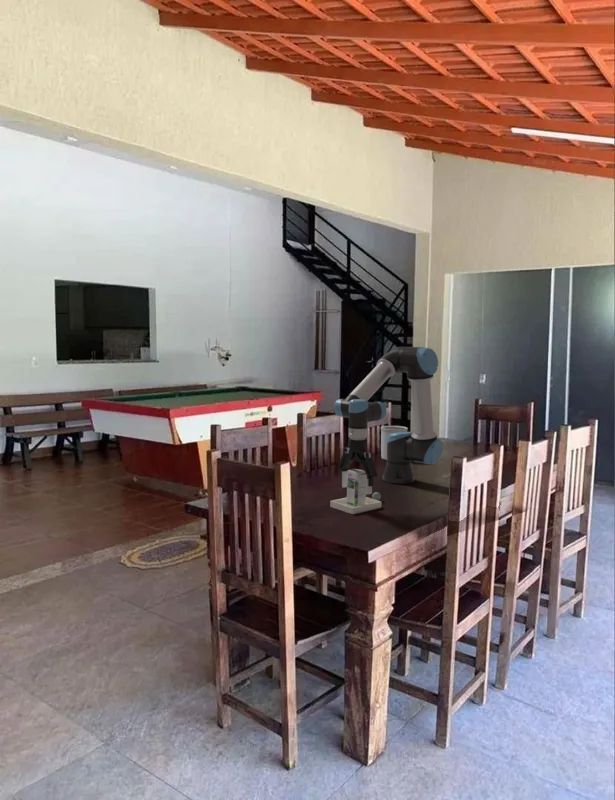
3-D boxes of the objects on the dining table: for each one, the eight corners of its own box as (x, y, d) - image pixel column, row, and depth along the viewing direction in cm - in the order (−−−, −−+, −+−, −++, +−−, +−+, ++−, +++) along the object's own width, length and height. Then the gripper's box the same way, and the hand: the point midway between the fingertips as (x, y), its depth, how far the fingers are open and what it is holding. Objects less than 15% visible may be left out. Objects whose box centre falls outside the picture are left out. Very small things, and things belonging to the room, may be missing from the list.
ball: (376, 499, 265) (376, 490, 265) (382, 500, 262) (382, 492, 262) (370, 500, 263) (370, 492, 262) (376, 502, 260) (376, 493, 259)
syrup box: (345, 505, 252) (346, 470, 251) (356, 503, 256) (357, 468, 254) (355, 508, 248) (356, 472, 246) (366, 506, 252) (367, 470, 250)
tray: (358, 500, 262) (358, 494, 262) (381, 507, 252) (381, 501, 252) (330, 506, 252) (330, 500, 251) (352, 514, 242) (352, 508, 242)
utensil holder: (375, 456, 356) (376, 425, 354) (399, 455, 360) (400, 425, 358) (386, 461, 342) (387, 429, 340) (411, 460, 346) (412, 429, 344)
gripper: (329, 434, 256) (328, 485, 258) (373, 444, 237) (372, 498, 239) (343, 433, 261) (342, 482, 263) (387, 441, 242) (385, 495, 244)
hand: (356, 490), depth 251 cm, fingers open, 13 cm apart
